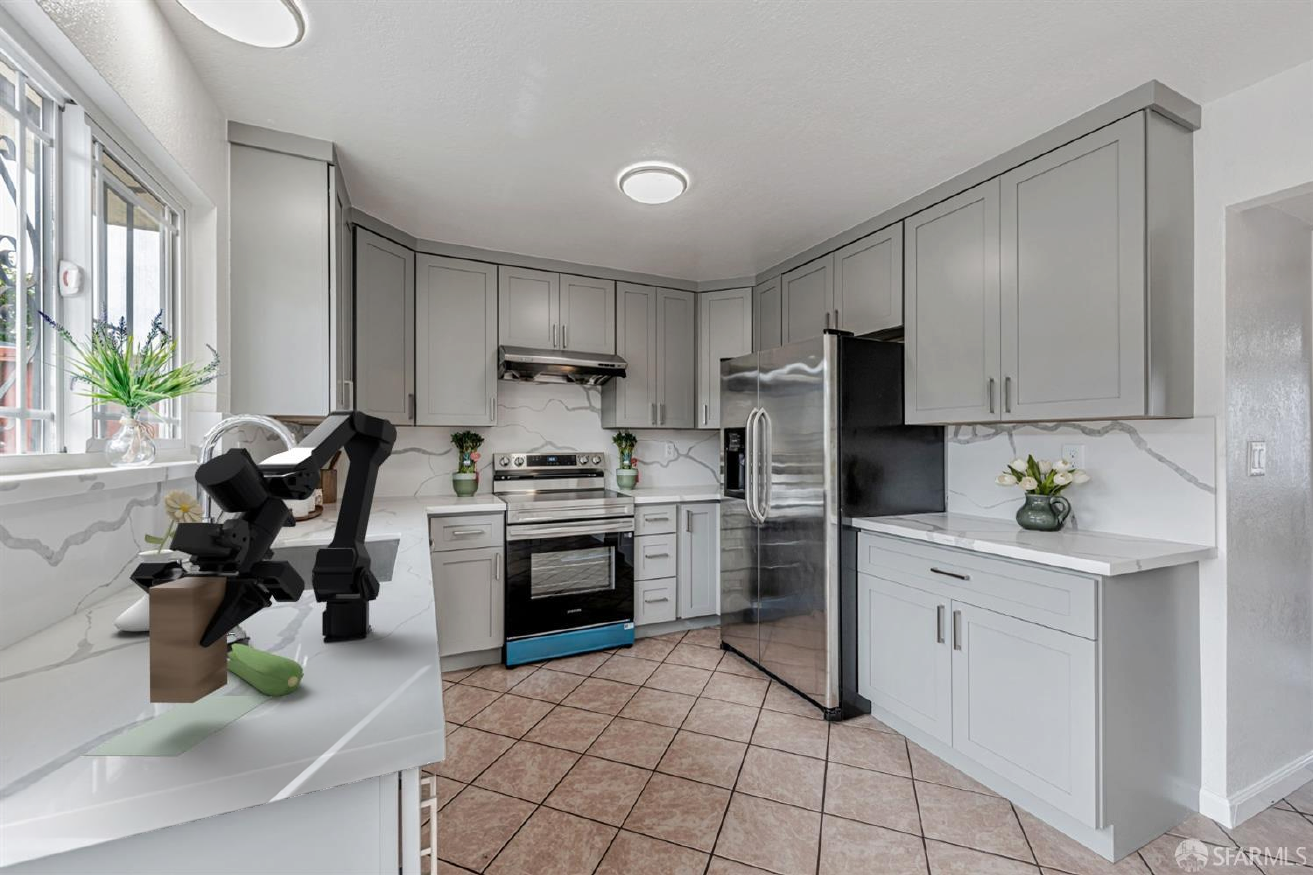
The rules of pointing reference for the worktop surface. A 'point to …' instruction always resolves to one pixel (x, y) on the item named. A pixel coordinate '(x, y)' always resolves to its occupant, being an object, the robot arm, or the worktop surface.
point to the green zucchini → (265, 670)
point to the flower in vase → (160, 556)
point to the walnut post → (185, 640)
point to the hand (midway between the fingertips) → (180, 645)
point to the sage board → (180, 727)
